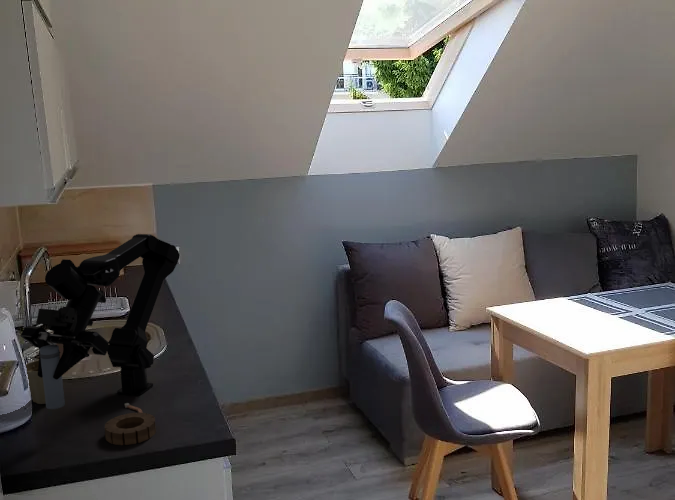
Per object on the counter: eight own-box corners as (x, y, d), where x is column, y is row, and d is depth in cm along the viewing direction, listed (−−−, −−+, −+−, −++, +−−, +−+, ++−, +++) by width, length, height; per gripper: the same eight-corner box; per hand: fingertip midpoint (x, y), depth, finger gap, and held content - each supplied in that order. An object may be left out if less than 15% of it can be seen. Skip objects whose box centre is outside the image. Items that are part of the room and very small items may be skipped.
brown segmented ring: (122, 421, 150) (121, 410, 149) (164, 425, 147) (163, 414, 147) (96, 442, 140) (95, 431, 140) (140, 447, 138) (139, 435, 137)
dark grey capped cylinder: (53, 401, 145) (46, 344, 142) (68, 402, 144) (62, 345, 141) (42, 408, 141) (35, 350, 139) (57, 409, 140) (51, 351, 138)
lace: (124, 406, 158) (124, 403, 158) (137, 403, 159) (137, 401, 159) (133, 426, 147) (133, 423, 147) (147, 423, 149) (147, 421, 148)
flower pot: (64, 388, 170) (60, 355, 168) (72, 400, 162) (68, 366, 161) (23, 397, 165) (19, 363, 164) (29, 410, 157) (25, 375, 156)
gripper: (21, 288, 145) (-15, 356, 137) (94, 294, 138) (60, 365, 130) (53, 314, 154) (20, 379, 145) (122, 320, 147) (92, 388, 139)
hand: (47, 377), depth 140 cm, fingers closed on dark grey capped cylinder, 4 cm apart
